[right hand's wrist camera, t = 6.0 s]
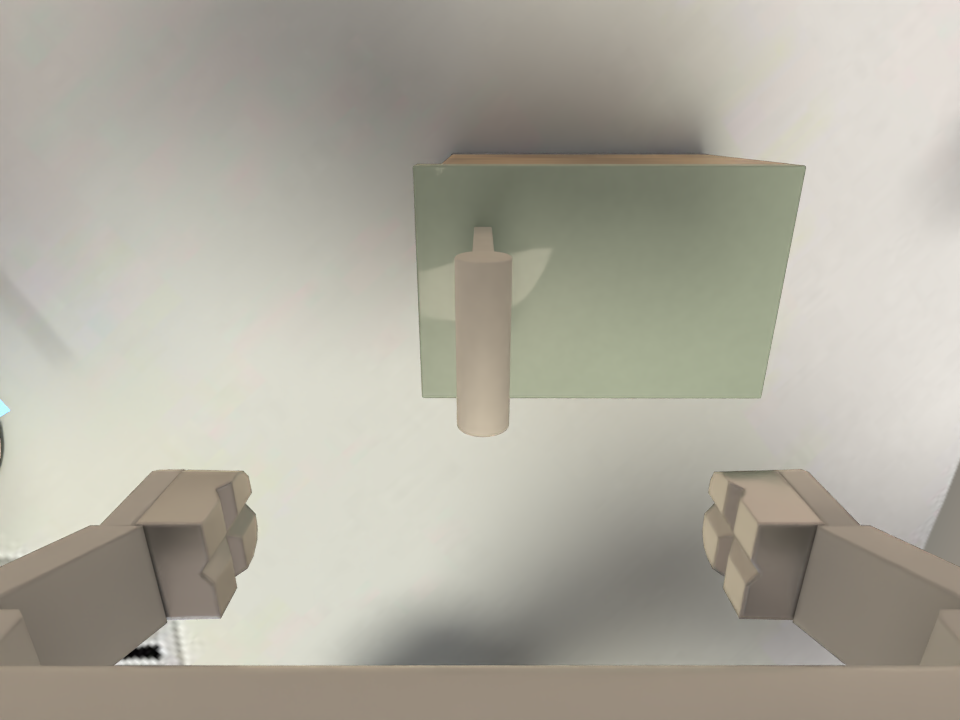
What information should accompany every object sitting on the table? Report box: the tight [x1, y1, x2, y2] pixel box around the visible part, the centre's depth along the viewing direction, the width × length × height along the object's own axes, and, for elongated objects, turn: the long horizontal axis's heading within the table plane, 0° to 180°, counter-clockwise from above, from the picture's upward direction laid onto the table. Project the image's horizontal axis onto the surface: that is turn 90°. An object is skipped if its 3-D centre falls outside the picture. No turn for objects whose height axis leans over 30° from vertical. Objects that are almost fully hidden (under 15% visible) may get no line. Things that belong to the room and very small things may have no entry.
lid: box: [413, 164, 806, 437], centre depth 21 cm, size 15×10×8 cm, turn 90°
